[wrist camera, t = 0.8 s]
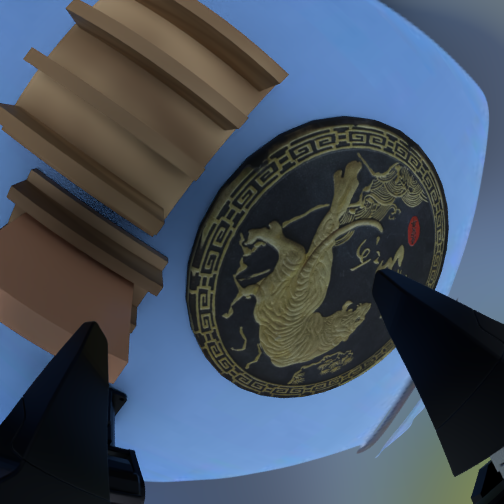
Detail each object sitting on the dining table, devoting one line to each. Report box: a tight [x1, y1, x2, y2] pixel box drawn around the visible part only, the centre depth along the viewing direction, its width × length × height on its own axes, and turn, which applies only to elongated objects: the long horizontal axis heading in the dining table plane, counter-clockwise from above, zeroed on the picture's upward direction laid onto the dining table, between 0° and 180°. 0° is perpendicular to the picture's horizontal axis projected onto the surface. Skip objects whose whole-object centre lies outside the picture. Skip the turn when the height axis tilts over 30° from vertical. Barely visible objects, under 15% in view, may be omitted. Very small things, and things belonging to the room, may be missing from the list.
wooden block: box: [0, 212, 134, 384], centre depth 13 cm, size 2×9×9 cm, turn 49°
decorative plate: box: [186, 116, 449, 398], centre depth 26 cm, size 30×2×30 cm
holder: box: [0, 168, 168, 333], centre depth 16 cm, size 6×12×3 cm, turn 50°
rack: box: [0, 0, 289, 237], centre depth 13 cm, size 14×14×4 cm
